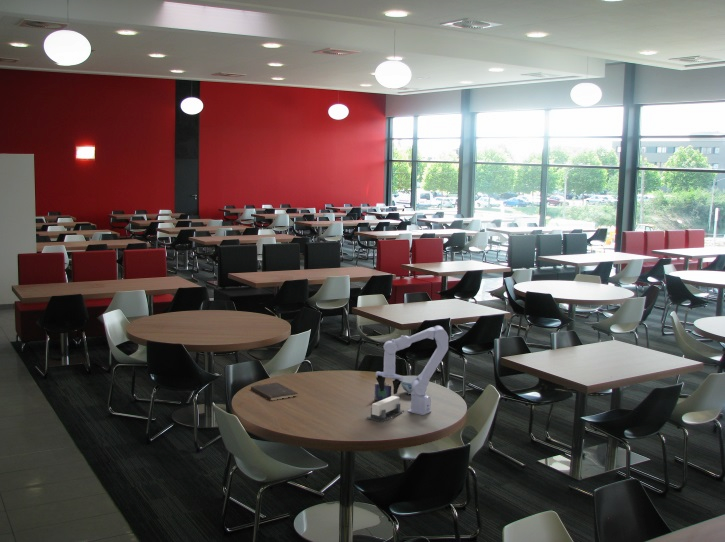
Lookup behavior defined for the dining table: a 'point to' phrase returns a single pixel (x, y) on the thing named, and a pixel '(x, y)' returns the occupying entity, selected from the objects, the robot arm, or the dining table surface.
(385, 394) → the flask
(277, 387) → the hardcover book
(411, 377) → the chinaware
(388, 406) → the rail
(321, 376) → the dining table surface
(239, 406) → the dining table surface
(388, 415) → the cup brackets
